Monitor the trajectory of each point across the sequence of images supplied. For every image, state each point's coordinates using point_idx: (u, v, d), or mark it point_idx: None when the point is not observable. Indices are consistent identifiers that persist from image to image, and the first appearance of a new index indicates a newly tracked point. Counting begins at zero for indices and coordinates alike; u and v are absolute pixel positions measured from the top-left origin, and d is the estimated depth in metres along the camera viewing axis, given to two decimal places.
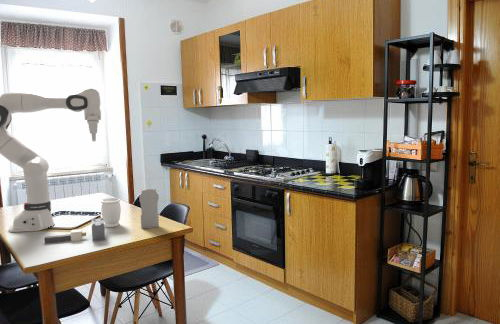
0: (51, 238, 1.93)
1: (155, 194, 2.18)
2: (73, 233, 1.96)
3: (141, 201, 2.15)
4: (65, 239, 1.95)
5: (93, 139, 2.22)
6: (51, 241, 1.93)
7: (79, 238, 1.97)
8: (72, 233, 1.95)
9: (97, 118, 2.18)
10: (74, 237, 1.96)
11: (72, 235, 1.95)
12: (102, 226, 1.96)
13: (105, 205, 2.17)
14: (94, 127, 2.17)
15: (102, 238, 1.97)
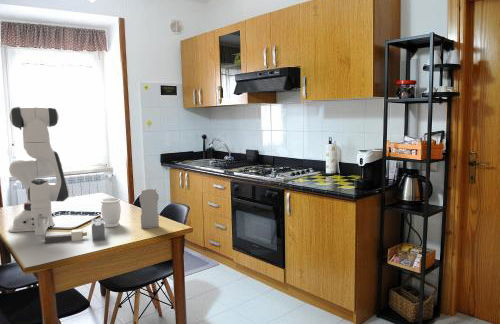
0: (52, 238, 1.93)
1: (155, 194, 2.18)
2: (74, 233, 1.96)
3: (141, 201, 2.15)
4: (66, 239, 1.95)
5: None
6: (52, 241, 1.93)
7: (80, 238, 1.97)
8: (73, 233, 1.95)
9: None
10: (75, 237, 1.96)
11: (73, 235, 1.96)
12: (102, 226, 1.96)
13: (105, 205, 2.17)
14: None
15: (102, 238, 1.97)
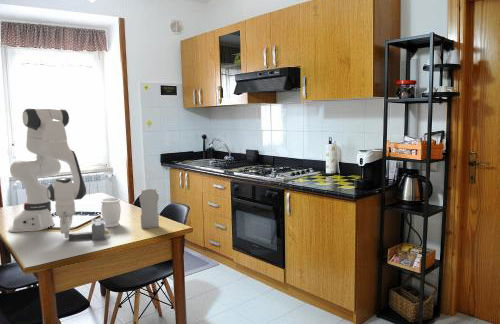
0: (75, 235, 1.97)
1: (155, 194, 2.18)
2: None
3: (141, 201, 2.15)
4: (89, 236, 1.99)
5: None
6: (75, 238, 1.97)
7: None
8: None
9: None
10: None
11: None
12: (102, 226, 1.96)
13: (105, 205, 2.17)
14: None
15: (102, 238, 1.97)
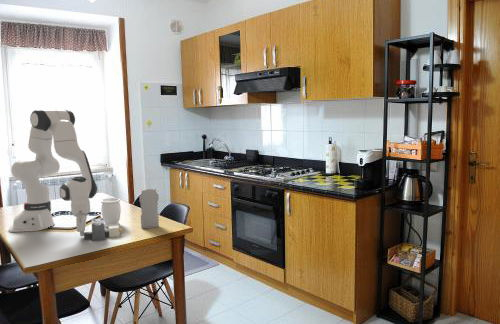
0: (90, 234, 1.99)
1: (155, 194, 2.18)
2: (111, 229, 2.02)
3: (141, 201, 2.15)
4: None
5: None
6: (90, 237, 2.00)
7: (117, 234, 2.03)
8: (110, 229, 2.02)
9: None
10: (112, 233, 2.02)
11: (110, 231, 2.02)
12: (102, 226, 1.96)
13: (105, 205, 2.17)
14: None
15: (102, 238, 1.97)
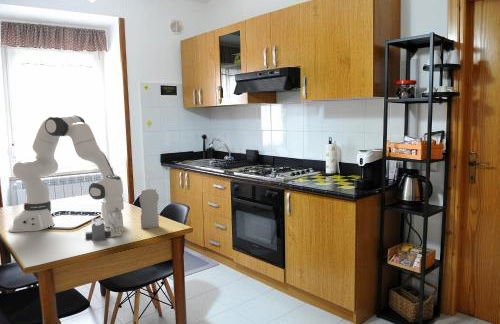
0: None
1: (155, 194, 2.18)
2: (113, 229, 2.02)
3: (141, 201, 2.15)
4: (105, 235, 2.02)
5: None
6: None
7: (118, 234, 2.04)
8: (112, 229, 2.02)
9: None
10: (113, 233, 2.03)
11: (112, 231, 2.02)
12: (102, 226, 1.96)
13: (105, 205, 2.17)
14: None
15: (102, 238, 1.97)
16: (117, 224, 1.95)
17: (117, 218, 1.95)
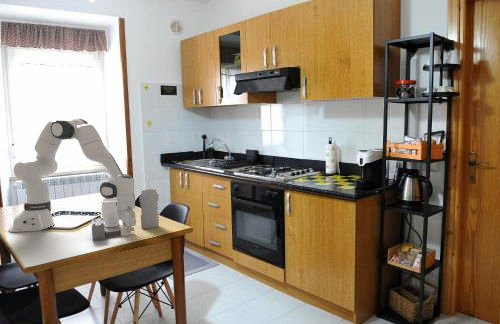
0: None
1: (155, 194, 2.18)
2: (123, 228, 2.04)
3: (141, 201, 2.15)
4: (115, 234, 2.03)
5: None
6: None
7: (128, 233, 2.05)
8: (122, 228, 2.03)
9: None
10: (124, 232, 2.04)
11: (122, 230, 2.04)
12: (102, 226, 1.96)
13: (105, 205, 2.17)
14: None
15: (102, 238, 1.97)
16: (130, 222, 1.97)
17: (130, 217, 1.97)
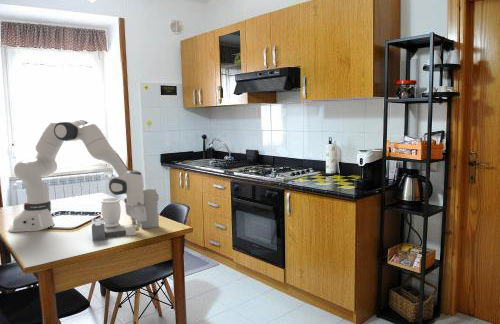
0: (107, 233, 2.01)
1: (155, 194, 2.18)
2: (128, 228, 2.04)
3: None
4: (120, 234, 2.04)
5: None
6: (107, 236, 2.01)
7: (133, 232, 2.06)
8: (127, 228, 2.04)
9: None
10: (129, 232, 2.05)
11: (127, 230, 2.04)
12: (102, 226, 1.96)
13: (105, 205, 2.17)
14: None
15: (102, 238, 1.97)
16: (141, 218, 1.99)
17: (141, 212, 1.99)
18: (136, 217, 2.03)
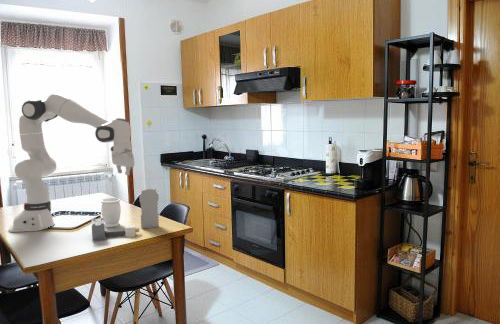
0: (107, 233, 2.01)
1: (155, 194, 2.18)
2: (127, 229, 2.03)
3: (141, 201, 2.15)
4: (120, 234, 2.03)
5: None
6: (107, 236, 2.01)
7: (133, 234, 2.04)
8: (126, 229, 2.03)
9: None
10: (128, 232, 2.03)
11: (126, 230, 2.03)
12: (102, 226, 1.96)
13: (105, 205, 2.17)
14: None
15: (102, 238, 1.97)
16: (129, 163, 2.02)
17: (129, 158, 2.02)
18: (124, 163, 2.05)
